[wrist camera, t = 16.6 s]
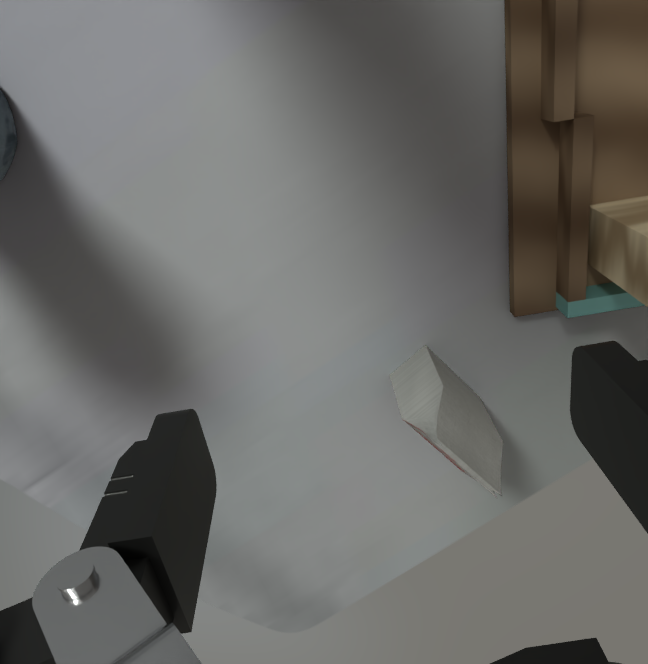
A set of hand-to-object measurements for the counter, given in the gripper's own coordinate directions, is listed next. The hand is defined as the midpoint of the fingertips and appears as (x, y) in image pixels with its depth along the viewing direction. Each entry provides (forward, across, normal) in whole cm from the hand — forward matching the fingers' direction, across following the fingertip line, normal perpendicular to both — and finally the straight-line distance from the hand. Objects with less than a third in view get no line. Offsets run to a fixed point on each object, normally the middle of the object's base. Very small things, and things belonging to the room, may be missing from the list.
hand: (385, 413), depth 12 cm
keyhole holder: (+28, -19, 0) cm, 34 cm away
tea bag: (+28, -6, +18) cm, 34 cm away
